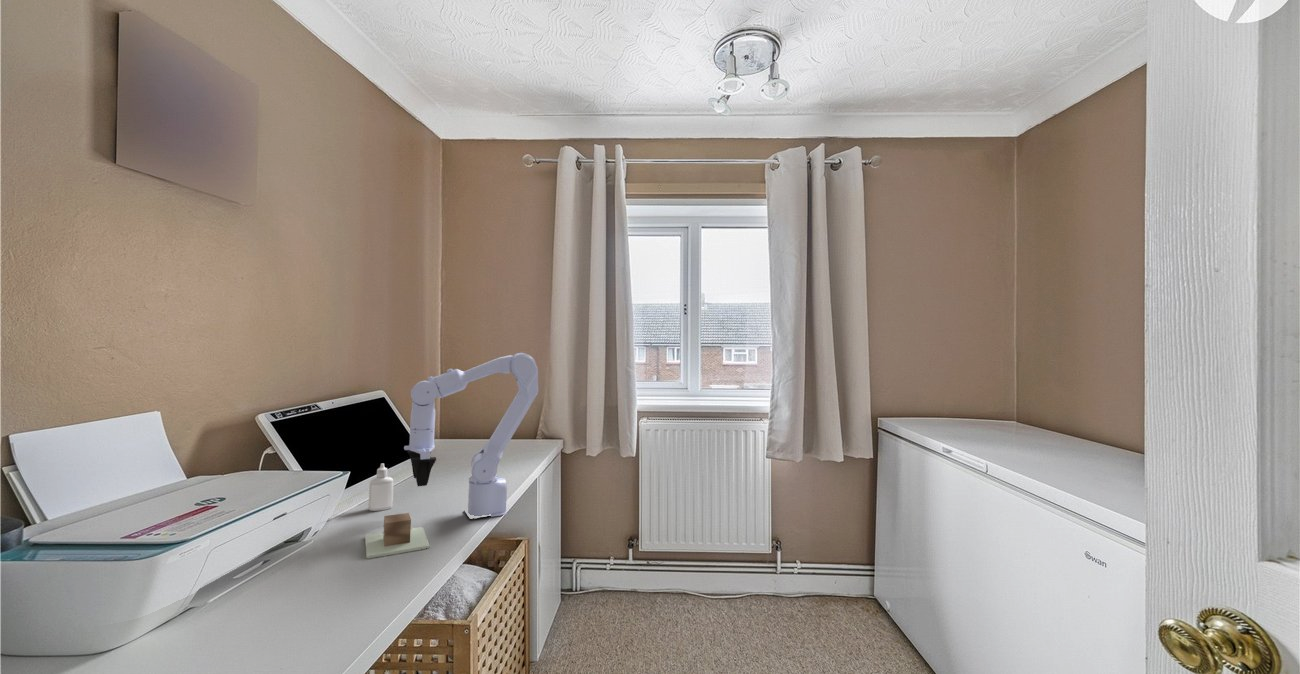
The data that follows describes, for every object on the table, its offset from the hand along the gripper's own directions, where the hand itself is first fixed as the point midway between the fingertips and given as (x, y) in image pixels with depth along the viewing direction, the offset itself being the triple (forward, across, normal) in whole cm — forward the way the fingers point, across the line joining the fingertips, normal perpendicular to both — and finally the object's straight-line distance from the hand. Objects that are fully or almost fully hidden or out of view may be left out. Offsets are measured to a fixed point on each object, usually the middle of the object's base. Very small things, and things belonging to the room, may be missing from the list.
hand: (420, 481), depth 126 cm
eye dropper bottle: (+10, -12, -8) cm, 17 cm away
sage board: (+9, +14, -6) cm, 18 cm away
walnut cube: (+9, +14, -6) cm, 18 cm away
